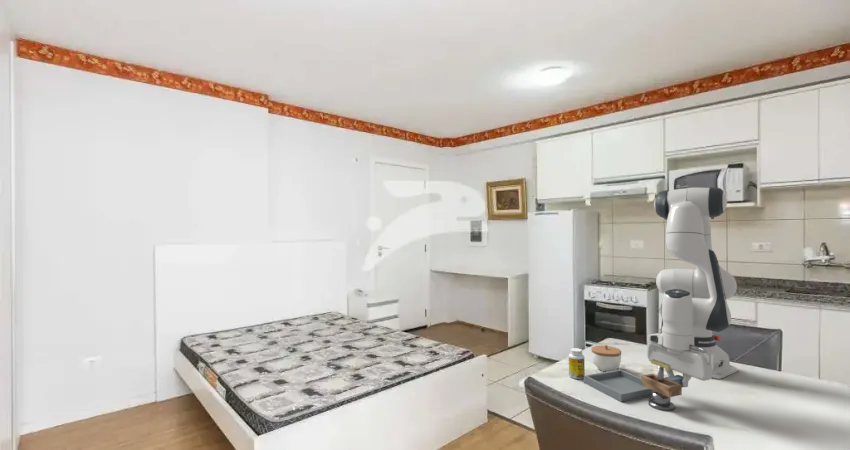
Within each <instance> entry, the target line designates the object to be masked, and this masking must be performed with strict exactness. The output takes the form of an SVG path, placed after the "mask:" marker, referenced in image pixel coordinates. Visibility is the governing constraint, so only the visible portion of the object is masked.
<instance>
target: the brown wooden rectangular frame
mask: <svg viewBox="0 0 850 450" xmlns="http://www.w3.org/2000/svg"><path fill="white" fill-rule="evenodd" d="M640 378H641V385H642V386H644V387H647V388H649V389H651V390H653V391H656V392H658V393H660V394H662V395H665V396H667V397H670V398H673V397H678V396H682V394H683V391H682V389H683V387H682V385H680V380H683V379H684V377H683V375H680V374H676V375H675V374H674V376H670V377H669V376H666V377H665V376H664V384H663V383H661V382H658V374H655V373H650V374H645V375H641V376H640Z"/></svg>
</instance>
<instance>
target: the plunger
mask: <svg viewBox="0 0 850 450" xmlns="http://www.w3.org/2000/svg"><path fill="white" fill-rule="evenodd" d="M650 363H651V364H652V365H655V366H657V375H658V382H661V383H663V384H664V378H665V373H664V372H665V369H671V365H669V364H666V363H664V362H661V361H658V360H655V359H651V361H650ZM648 406H650V407H651V408H653V409H655V410H659V411H662V412H663V411H665V412H669V411H674V410H675V404H674V403H673V402H672V401H671V397H667V396H665V395H662V394H660V393H658V392H656V391H652V396H651V398H649V399H648Z"/></svg>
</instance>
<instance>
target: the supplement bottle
mask: <svg viewBox="0 0 850 450" xmlns="http://www.w3.org/2000/svg"><path fill="white" fill-rule="evenodd" d="M585 373H586V372H585V355H584V354H583V349H581V348H578V347H576V348H575V347H572V348H570V353H569V354H568V376H569V377H570V378H571V379H575V380H584V376H586V375H585Z"/></svg>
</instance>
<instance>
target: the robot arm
mask: <svg viewBox="0 0 850 450" xmlns="http://www.w3.org/2000/svg"><path fill="white" fill-rule="evenodd" d="M727 205H728V198H727V196H726V194H725V191H724V190H723V189H722V188H720V187H713V186H710V187H687V188H677V189H670V190H669V189H666V190H662V191H659V192H658V193H657V194H656V195H655V199H654V201H653V207H654V208H653V209H654V211H655V213H656V215H657V216H659V217H660V218H663V219H664V220H666V227H665V244H666V249H667V251H668V253H670V255H672V256H673V257H675V258H676V259H678V260H681V261H683V262H685V263H688V264H691V265H693V266H695V268H678V267H677V268H675V267H674V268H665V269H661V270H660V271H659V272H658V274H657V275H656V278H655V283H656V284H655V285H656V287H657V289H658V291H659V292H661V294H663V296H662V303H661V304H660V317H661V320H662V327H661V332H657V333H651V334H648V336H647V340H648V343H647V349H646V350H647V351H646V356H647V359H648V361H649V362H651V359H655V360H658V361H661V362H664V363H666V364H669V365H671V369H665V368H664V371H665V372H666V374H667V377H670V376H675V374H674V371H676V372H678V373H681V374H682V376H683V377H684V379H683V380H680V385H682V388H688V387H689V381H690V380H691V379H692V378H694V379H698V380H700V381H710V380H711V379H715V380H717V379H718V380H721V379H723V378H725V377H728V376H730V375H732V374H735V373H737V372H738V371H739V370H738V367H736V366H734V365H732V364H731V363H730V361H731V360H730V357H729V356H730V355H729V354H728V353H727V352H725V350H723V349H722V348H721V347H719V346H718V345H717V342H720V341H721V339H722V337H721V335H718V334H714V333H713V332H717V333H720V332H722V331H725V330H727V329H728V328H730V326H731V323H732V314H731V310H730V307H729V304H728V302H727V299H728V300H729V299H731V298H732V297H734V295H735V294H736V292H737V288H738V284H737V280H736V278H735V277H734V276H733V275H732V274H731V273H730V272H728V271H727V270H725V269H724V268H723V267H721V265H720V263H719V260H718V256H717V255H716V253H715V251H714V250H713V248H712V247H713V246H712V229H711V220H715V218H717V217H719V216H721V215H722V214H724V213H725V210H726V208H727ZM710 218H711V220H710ZM716 341H717V342H716Z"/></svg>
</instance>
